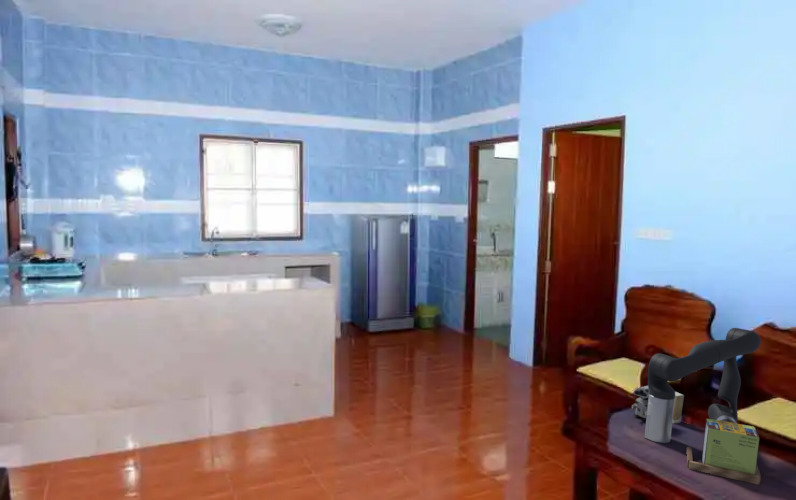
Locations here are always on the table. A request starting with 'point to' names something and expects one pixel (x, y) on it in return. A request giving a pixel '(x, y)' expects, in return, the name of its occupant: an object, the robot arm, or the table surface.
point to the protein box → (730, 446)
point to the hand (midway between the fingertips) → (732, 445)
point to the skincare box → (677, 407)
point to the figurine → (641, 402)
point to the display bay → (722, 470)
